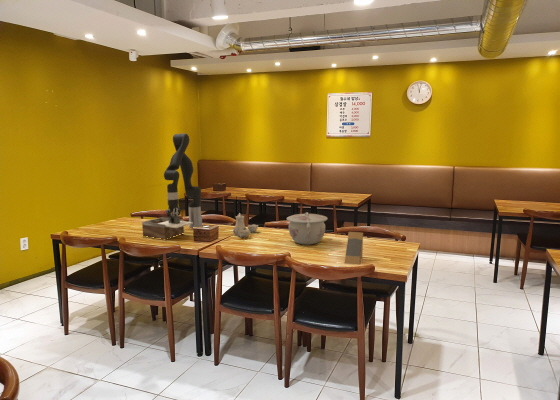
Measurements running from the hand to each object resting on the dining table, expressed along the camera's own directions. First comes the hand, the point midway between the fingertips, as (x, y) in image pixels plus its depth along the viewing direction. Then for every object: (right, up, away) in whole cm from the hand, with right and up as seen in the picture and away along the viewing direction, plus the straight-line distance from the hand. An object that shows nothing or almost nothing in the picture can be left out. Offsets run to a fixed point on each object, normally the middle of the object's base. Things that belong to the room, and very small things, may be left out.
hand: (174, 222), depth 294 cm
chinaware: (+49, -10, +7) cm, 51 cm away
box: (-10, -10, +7) cm, 16 cm away
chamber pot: (+94, -13, -18) cm, 96 cm away
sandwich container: (+118, -19, -58) cm, 133 cm away
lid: (0, -2, 0) cm, 2 cm away
